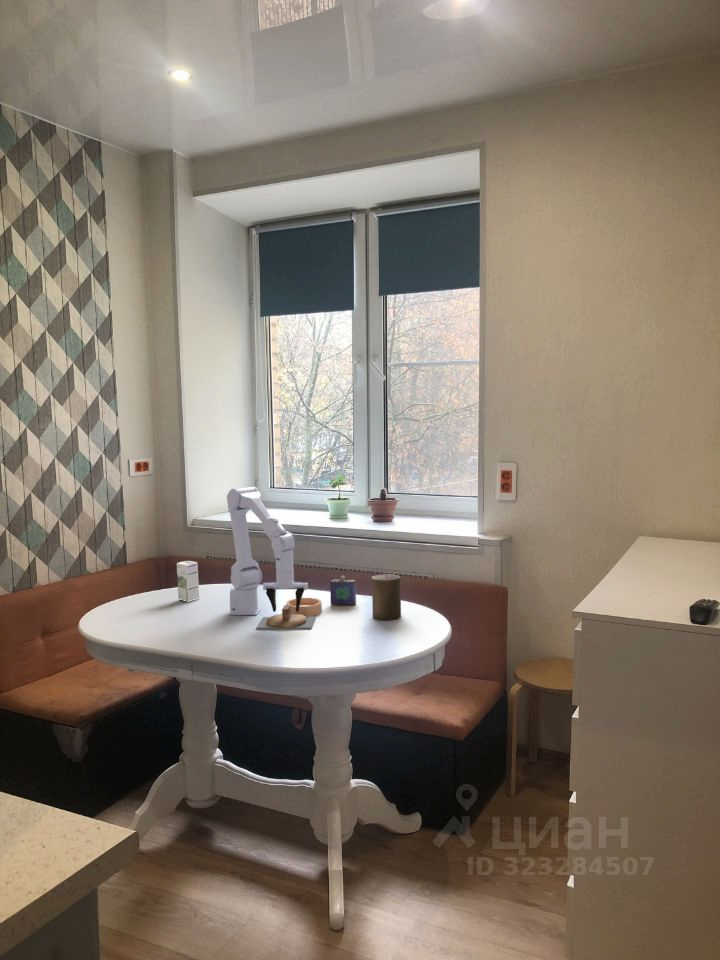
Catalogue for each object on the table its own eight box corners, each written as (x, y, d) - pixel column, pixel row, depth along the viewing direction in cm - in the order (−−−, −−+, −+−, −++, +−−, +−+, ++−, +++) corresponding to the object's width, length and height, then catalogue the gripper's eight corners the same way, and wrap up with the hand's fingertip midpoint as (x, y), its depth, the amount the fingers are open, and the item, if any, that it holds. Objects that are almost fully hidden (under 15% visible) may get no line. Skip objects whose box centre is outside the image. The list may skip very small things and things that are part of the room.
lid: (263, 627, 235) (263, 612, 235) (270, 616, 248) (270, 602, 248) (303, 627, 235) (303, 612, 234) (308, 616, 248) (308, 601, 247)
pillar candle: (400, 620, 242) (399, 576, 240) (370, 620, 243) (370, 576, 242) (401, 613, 251) (401, 570, 250) (373, 612, 253) (373, 569, 251)
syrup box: (200, 599, 275) (198, 561, 274) (187, 602, 270) (185, 564, 269) (190, 597, 279) (188, 559, 277) (177, 600, 274) (176, 562, 272)
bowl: (284, 616, 249) (284, 606, 249) (289, 607, 261) (289, 597, 261) (319, 616, 249) (319, 606, 248) (323, 607, 260) (322, 597, 260)
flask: (356, 603, 264) (355, 574, 263) (355, 605, 261) (355, 576, 260) (330, 604, 265) (330, 575, 264) (330, 606, 262) (329, 577, 261)
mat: (256, 629, 236) (256, 627, 236) (263, 618, 248) (263, 617, 248) (311, 629, 235) (311, 627, 235) (315, 618, 247) (315, 616, 247)
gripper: (260, 573, 236) (262, 614, 237) (305, 573, 235) (306, 614, 236) (264, 568, 243) (266, 608, 244) (308, 568, 242) (309, 608, 243)
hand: (286, 610), depth 241 cm, fingers open, 7 cm apart
